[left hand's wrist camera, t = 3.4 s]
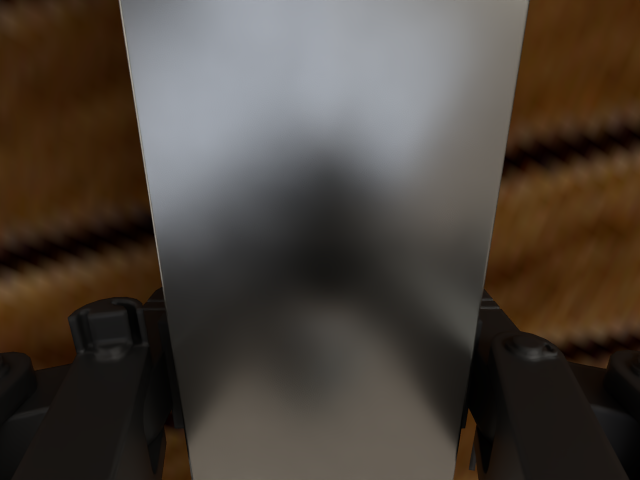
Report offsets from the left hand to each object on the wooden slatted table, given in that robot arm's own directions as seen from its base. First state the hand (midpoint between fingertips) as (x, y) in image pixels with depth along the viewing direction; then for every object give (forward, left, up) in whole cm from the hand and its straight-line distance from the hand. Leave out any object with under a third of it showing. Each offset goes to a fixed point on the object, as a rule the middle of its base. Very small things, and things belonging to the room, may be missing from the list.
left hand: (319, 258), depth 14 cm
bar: (+2, +7, -1) cm, 7 cm away
